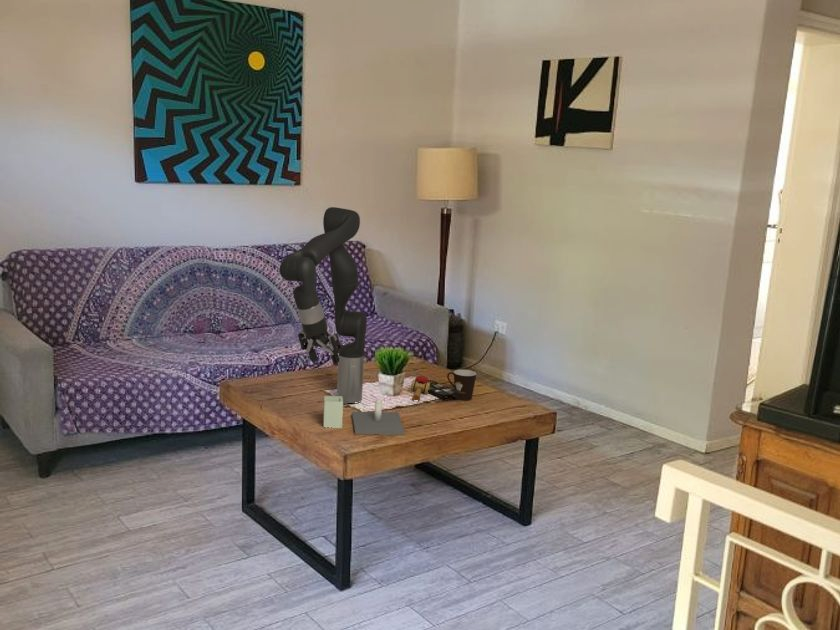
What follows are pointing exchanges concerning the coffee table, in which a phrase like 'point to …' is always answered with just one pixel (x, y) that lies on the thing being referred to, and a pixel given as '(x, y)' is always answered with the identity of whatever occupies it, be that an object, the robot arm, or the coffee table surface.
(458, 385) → the coffee mug
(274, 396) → the coffee table surface
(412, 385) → the kendama
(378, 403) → the hub stand
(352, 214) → the robot arm
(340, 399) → the collar
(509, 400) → the coffee table surface
